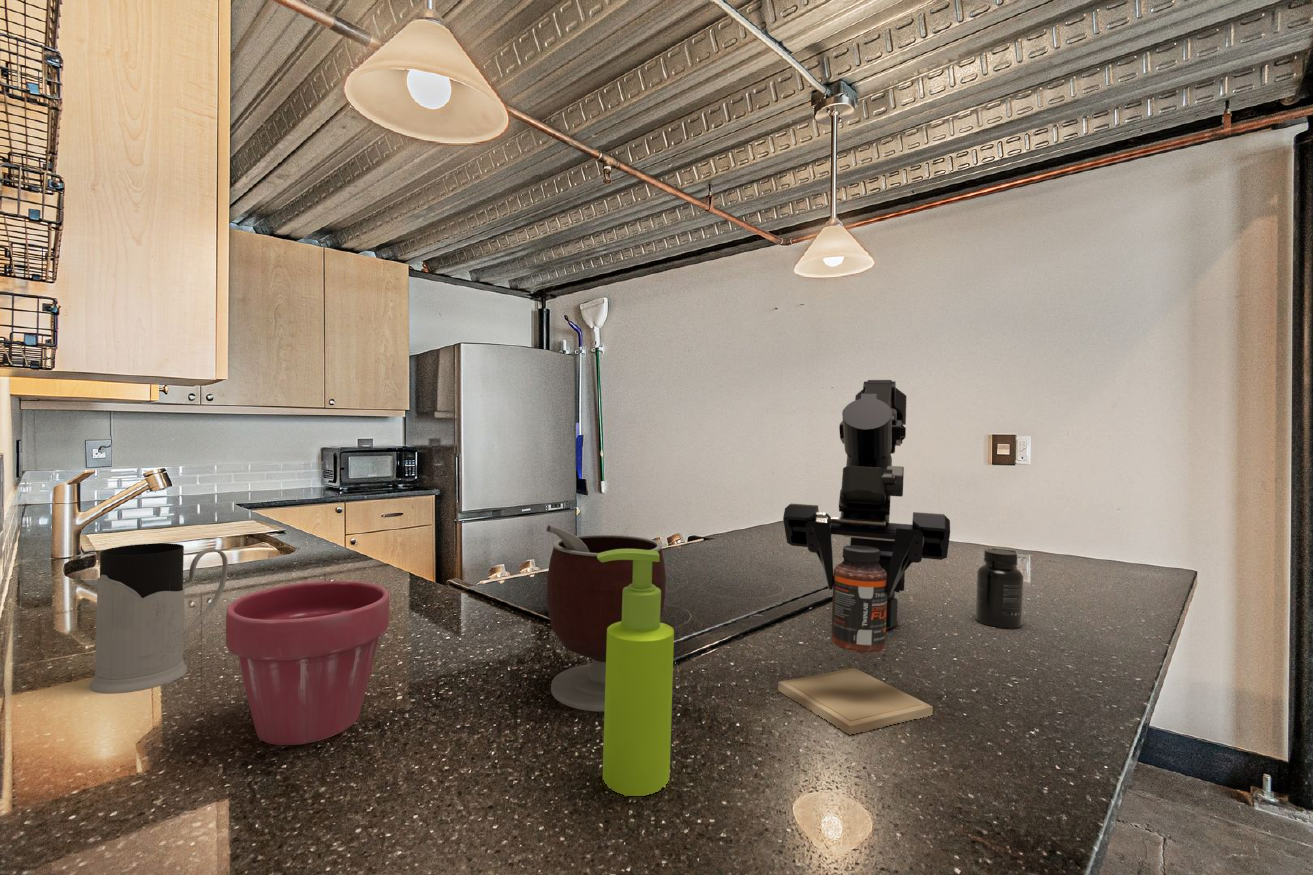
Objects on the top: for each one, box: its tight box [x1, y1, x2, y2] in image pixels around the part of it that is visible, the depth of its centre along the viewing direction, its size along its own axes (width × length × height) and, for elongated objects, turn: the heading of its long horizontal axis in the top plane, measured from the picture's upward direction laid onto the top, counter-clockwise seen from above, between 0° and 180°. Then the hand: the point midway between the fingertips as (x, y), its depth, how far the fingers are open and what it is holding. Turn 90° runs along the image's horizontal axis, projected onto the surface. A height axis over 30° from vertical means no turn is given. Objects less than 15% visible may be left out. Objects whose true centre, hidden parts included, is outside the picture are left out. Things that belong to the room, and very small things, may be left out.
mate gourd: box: [546, 524, 667, 712], centre depth 73 cm, size 16×14×20 cm
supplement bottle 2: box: [975, 549, 1024, 630], centre depth 105 cm, size 7×7×12 cm
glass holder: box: [88, 542, 229, 694], centre depth 75 cm, size 9×14×15 cm, turn 160°
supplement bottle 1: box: [831, 544, 888, 654], centre depth 71 cm, size 6×6×11 cm
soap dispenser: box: [597, 549, 675, 797], centre depth 54 cm, size 6×7×20 cm
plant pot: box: [225, 580, 390, 746], centre depth 62 cm, size 14×14×13 cm
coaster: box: [777, 667, 934, 736], centre depth 71 cm, size 12×12×1 cm
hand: (858, 590), depth 70 cm, fingers closed on supplement bottle 1, 6 cm apart
